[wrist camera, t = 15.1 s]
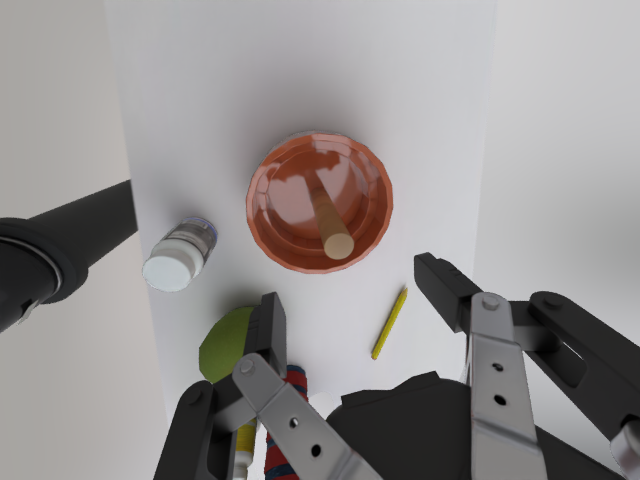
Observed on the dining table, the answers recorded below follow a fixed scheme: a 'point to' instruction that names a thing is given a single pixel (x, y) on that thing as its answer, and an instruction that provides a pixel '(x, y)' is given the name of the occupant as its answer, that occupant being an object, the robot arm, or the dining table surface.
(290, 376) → the red striped curved tube
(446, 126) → the dining table surface
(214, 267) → the dining table surface
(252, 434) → the supplement bottle
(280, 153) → the bowl
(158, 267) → the pill bottle
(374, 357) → the pencil
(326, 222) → the stirring stick
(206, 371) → the apple
